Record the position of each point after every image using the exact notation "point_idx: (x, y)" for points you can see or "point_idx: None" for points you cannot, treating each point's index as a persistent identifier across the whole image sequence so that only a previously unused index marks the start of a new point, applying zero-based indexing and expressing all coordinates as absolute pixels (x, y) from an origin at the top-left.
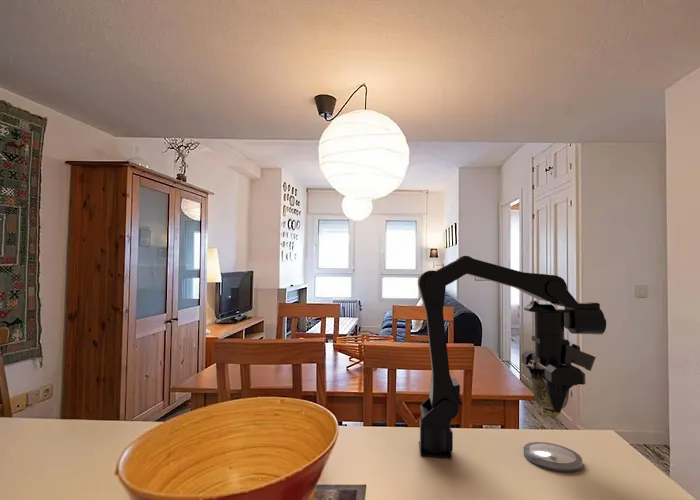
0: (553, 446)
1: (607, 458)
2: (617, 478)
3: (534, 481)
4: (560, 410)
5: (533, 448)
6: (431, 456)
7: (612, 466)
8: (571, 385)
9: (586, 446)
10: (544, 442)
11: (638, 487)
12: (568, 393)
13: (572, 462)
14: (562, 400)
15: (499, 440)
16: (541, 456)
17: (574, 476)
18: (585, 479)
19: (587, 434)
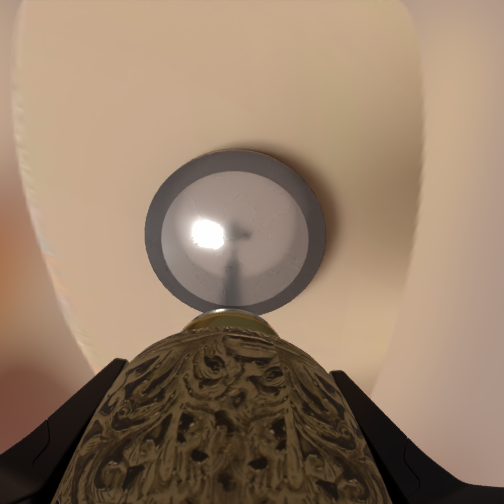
0: (177, 216)
1: (209, 39)
2: (351, 96)
3: (352, 324)
4: (348, 379)
5: (207, 289)
6: None
7: (271, 56)
8: (491, 495)
9: (116, 70)
10: (145, 232)
11: (394, 77)
12: (343, 431)
13: (300, 208)
14: (389, 431)
15: (132, 329)
16: (265, 289)
17: (341, 222)
18: (357, 199)
19: (37, 44)
